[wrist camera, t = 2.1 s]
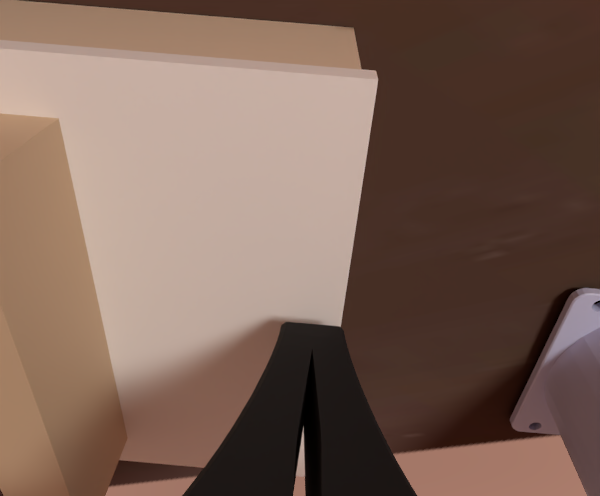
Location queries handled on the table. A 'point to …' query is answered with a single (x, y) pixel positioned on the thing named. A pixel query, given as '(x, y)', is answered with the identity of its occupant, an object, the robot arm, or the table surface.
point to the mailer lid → (160, 247)
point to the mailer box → (178, 34)
